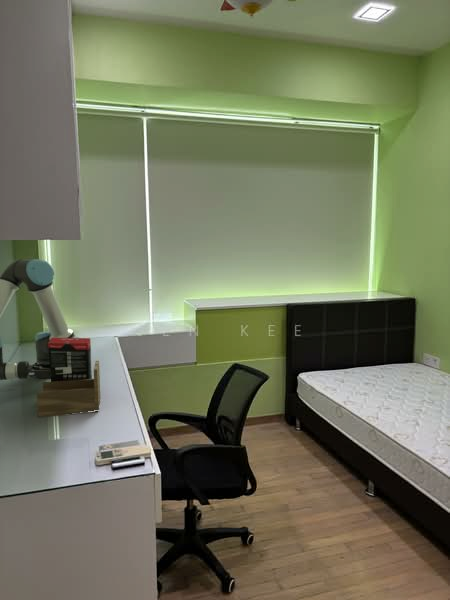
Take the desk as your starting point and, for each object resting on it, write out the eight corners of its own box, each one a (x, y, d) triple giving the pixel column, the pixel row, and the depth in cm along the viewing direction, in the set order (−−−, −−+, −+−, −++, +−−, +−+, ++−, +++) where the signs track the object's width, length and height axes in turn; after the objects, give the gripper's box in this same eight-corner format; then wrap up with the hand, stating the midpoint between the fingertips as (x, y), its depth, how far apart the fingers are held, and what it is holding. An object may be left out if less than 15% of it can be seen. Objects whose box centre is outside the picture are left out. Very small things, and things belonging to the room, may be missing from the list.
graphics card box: (93, 390, 199) (91, 336, 191) (90, 398, 193) (88, 342, 184) (55, 390, 197) (51, 336, 189) (51, 398, 191) (46, 342, 182)
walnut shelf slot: (44, 404, 185) (42, 364, 182) (100, 399, 190) (99, 360, 188) (38, 417, 171) (35, 373, 169) (98, 411, 177) (97, 369, 174)
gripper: (24, 371, 198) (75, 368, 203) (12, 386, 177) (70, 382, 182) (23, 355, 197) (75, 352, 202) (11, 369, 176) (69, 365, 181)
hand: (72, 366), depth 192 cm, fingers open, 9 cm apart
